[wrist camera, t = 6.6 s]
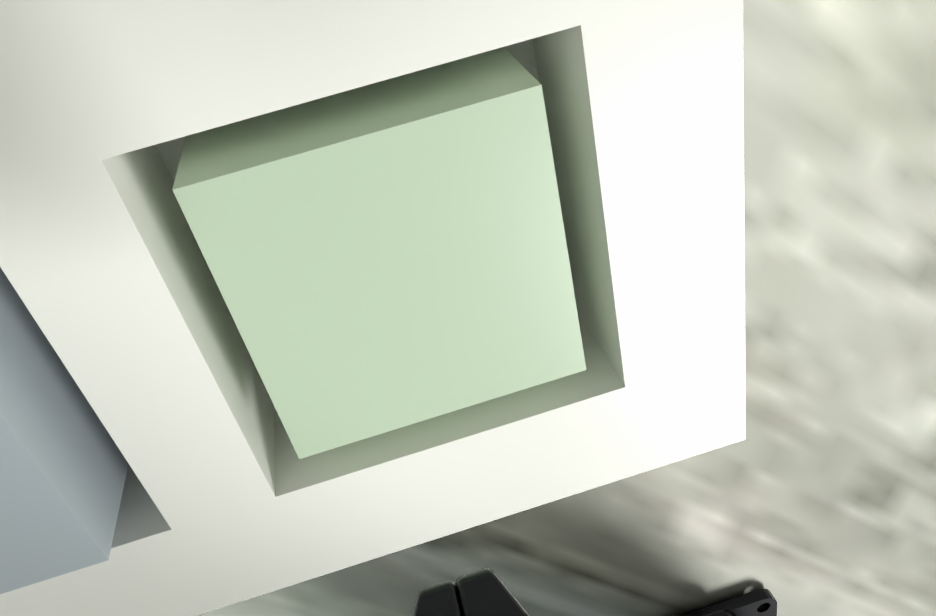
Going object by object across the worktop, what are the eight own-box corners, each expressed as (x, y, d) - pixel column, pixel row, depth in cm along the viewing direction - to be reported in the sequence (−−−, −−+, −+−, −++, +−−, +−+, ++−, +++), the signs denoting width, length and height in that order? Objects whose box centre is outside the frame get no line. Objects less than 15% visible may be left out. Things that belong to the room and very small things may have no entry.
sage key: (544, 296, 17) (586, 369, 15) (294, 372, 17) (299, 459, 14) (497, 40, 14) (541, 85, 12) (187, 127, 13) (172, 189, 11)
